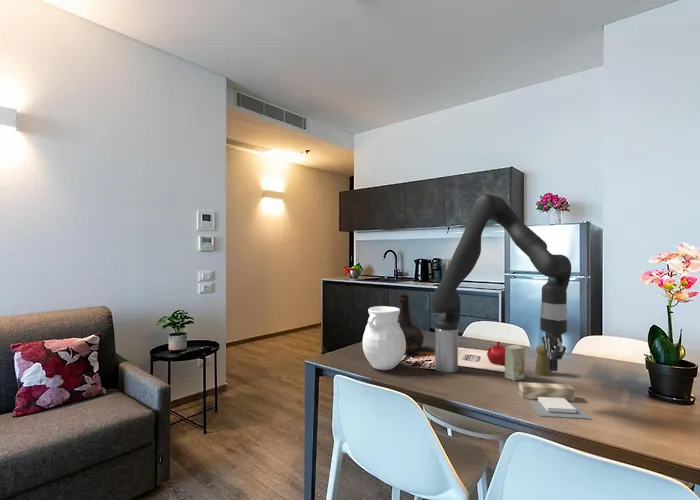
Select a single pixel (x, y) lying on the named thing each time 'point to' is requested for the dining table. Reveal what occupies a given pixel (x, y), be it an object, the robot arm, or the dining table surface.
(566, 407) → the tile
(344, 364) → the dining table surface
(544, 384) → the beech block
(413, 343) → the glass bottle
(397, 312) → the pitcher
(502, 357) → the pomegranate
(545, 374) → the olive pawn figure
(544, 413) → the mat
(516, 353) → the skincare box
